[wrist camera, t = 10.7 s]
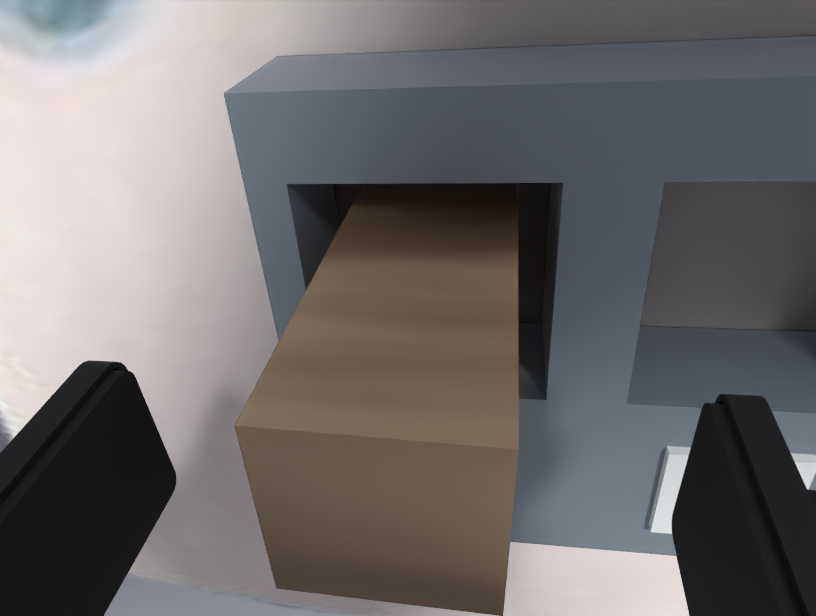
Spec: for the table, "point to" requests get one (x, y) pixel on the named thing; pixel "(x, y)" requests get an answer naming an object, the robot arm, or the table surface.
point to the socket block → (560, 235)
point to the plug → (397, 405)
